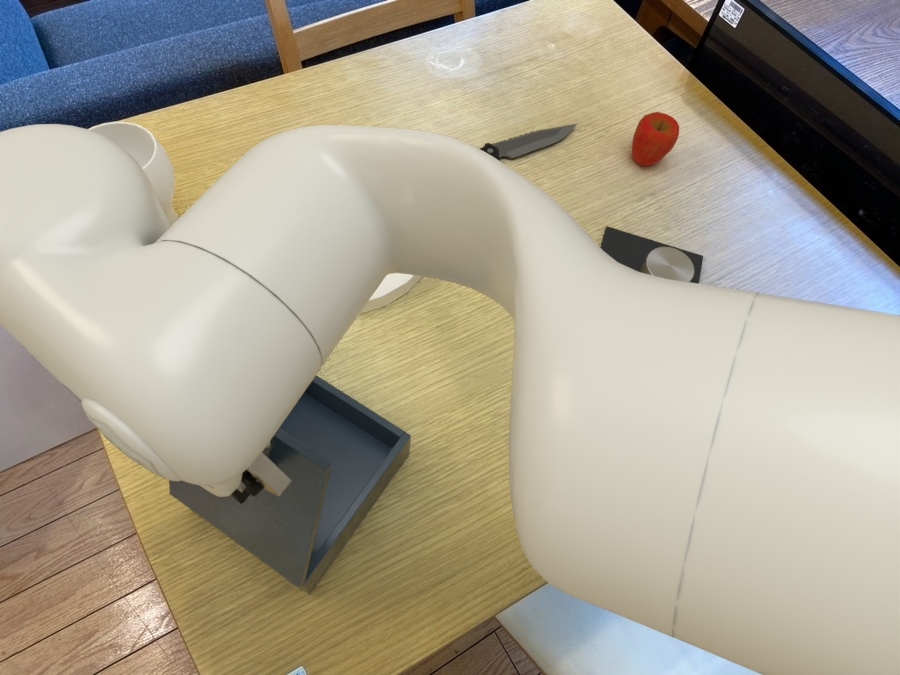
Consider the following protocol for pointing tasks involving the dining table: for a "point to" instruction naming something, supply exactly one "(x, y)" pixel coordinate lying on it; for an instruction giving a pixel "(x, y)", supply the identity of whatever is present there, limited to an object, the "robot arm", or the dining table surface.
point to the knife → (527, 142)
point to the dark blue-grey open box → (344, 464)
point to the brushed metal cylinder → (668, 264)
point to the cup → (145, 159)
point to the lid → (271, 509)
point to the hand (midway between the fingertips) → (222, 463)
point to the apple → (654, 138)
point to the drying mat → (639, 250)
